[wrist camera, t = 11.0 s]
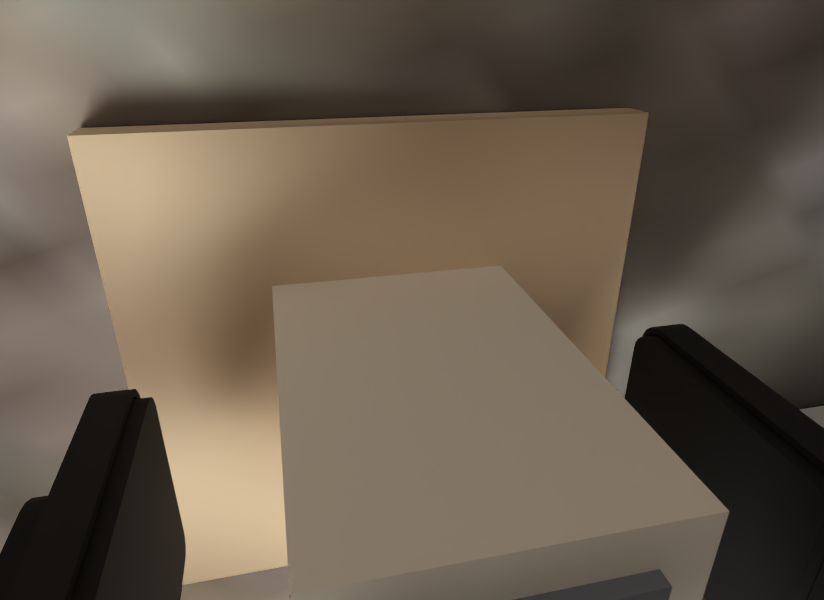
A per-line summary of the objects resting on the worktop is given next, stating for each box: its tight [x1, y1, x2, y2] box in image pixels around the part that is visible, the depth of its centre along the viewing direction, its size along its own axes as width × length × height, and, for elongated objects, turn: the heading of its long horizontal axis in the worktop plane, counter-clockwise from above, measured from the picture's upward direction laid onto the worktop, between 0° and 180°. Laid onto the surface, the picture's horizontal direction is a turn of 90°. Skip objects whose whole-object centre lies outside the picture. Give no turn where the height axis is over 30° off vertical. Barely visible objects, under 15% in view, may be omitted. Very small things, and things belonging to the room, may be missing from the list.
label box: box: [272, 266, 729, 600], centre depth 9 cm, size 4×4×6 cm
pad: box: [67, 108, 649, 585], centre depth 12 cm, size 9×9×1 cm
